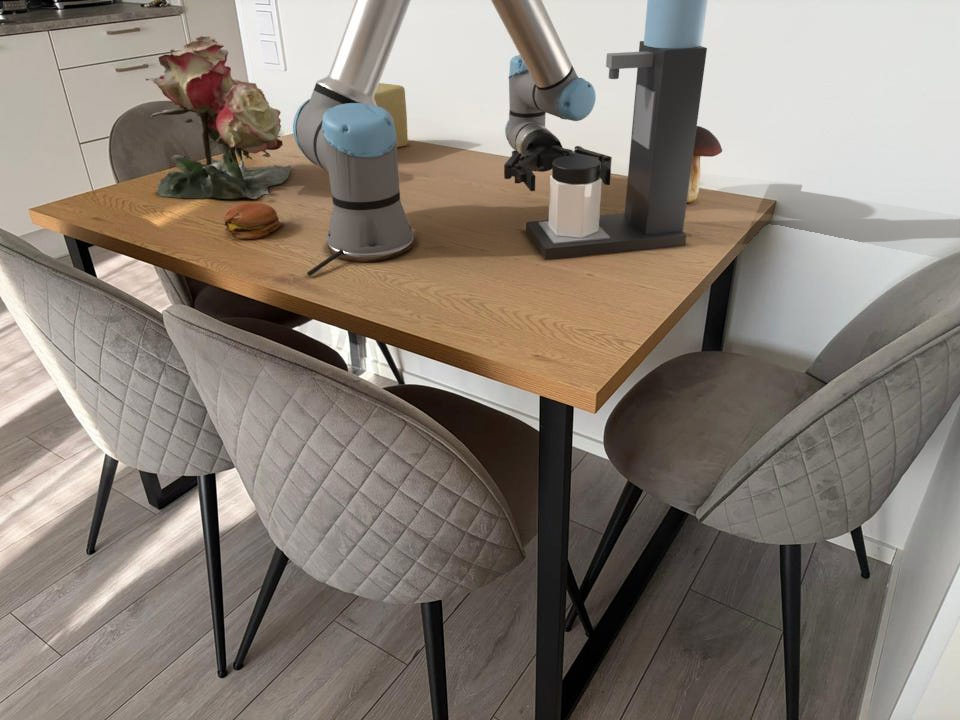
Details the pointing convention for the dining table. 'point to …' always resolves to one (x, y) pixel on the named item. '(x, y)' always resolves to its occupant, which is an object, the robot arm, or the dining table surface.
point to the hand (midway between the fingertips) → (571, 180)
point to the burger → (251, 220)
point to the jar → (575, 196)
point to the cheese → (394, 108)
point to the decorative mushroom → (705, 147)
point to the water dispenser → (651, 138)
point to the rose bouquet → (219, 125)
